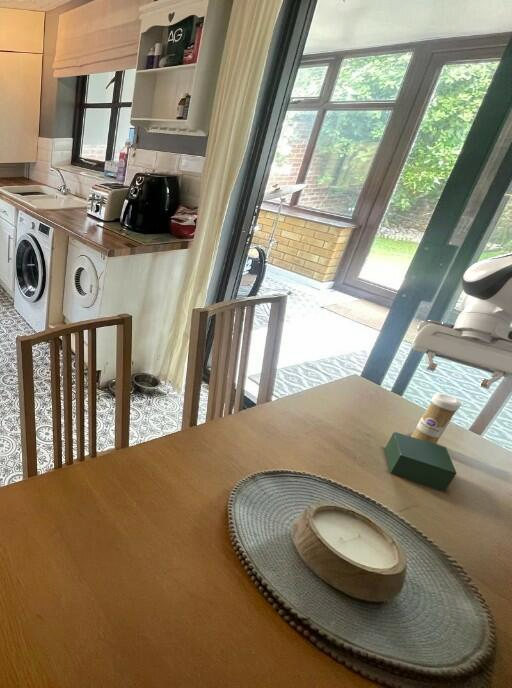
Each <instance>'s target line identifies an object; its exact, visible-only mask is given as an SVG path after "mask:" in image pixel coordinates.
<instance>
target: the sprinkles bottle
mask: <svg viewBox="0 0 512 688" xmlns="http://www.w3.org/2000/svg"><path fill="white" fill-rule="evenodd" d="M461 406H462V402H461V401H460V400H459V399H458V398H457V397H454V396H452V395H449V394H446V393H443V392H441V393H440V392H437V393H435V394H433V396H432V398H431V400H430V404H429V405H428V407H427V408H426V410H425V412H424V414H423V416H422V417H421V418H420V420H419V422H418V423H417V425H416V428H415V430H414V431H413V433H412V434H411V435H410V437H413V438H417V439H420V440H423V441H427V442H430V443H433V444H436V445H437V443H438V441H439V440H440V438H441V437H442V435H443V434H444V432H445V431H446V429H447V427H448V425H449V424H450V422H451V420H452V418H453V416H454V415H455V413H456V412H457V411H458V410H459V409H460V407H461Z"/></svg>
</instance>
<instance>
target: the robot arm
mask: <svg viewBox="0 0 512 688" xmlns="http://www.w3.org/2000/svg"><path fill="white" fill-rule="evenodd" d="M460 281H461V287H462V291H463V292H464V293H465V294H466V295H467V297H466V299H465V301H464V308H463V310H462V311H461V312H460V313H459V314H458V315H457V318H456V319H455V323H454V324H451V323H447V322H441V321H437V320H436V319H426V320H422V321H420V322H419V323H418V326H417V327H416V328H417V333H416V335H415V336H414V338H413V340H412V341H411V344H410V348H411V349H412V350H413V351H415V352H419V353H423V354H426V355H425V360H426V363H427V366H426V368H425V370H426V371H430V372H432V373H433V372H435V371H436V368H437V367H438V363H435V362H434V360H433V359H435V357H436V358H439V359H443V360H446V361H449V362H453V363H456V364H459V365H463V366H466V367H469V368H473V369H476V370H480V371H483V372H486V373H489V374H491V376H490V378H489V379H488V378H482V379H481V380H480V383H479V384H478V387H480V388H483V389H485V390H488V389H490V388H491V385H492V384H493V383H495V382H497V381H500V380H501V379H502V378H506V379H510V380H512V327H511V324H512V252H510V253H506V254H502V255H497V256H493V257H489V258H486V259H483V260H480V261H477V262H474V263H473V264H472V265H470V266H468V267H467V268H466V269H465V270H464V272H463V273H462V275H461V280H460Z"/></svg>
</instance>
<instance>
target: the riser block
mask: <svg viewBox="0 0 512 688" xmlns="http://www.w3.org/2000/svg"><path fill="white" fill-rule="evenodd" d="M384 451H385V455H386V458H387V463H388V467H389V472H390V473H391V474H393V475H395V476H398V477H400V478H404V479H408V480H410V481H413V482H415V483H419V484H422V485H425V486H427V487H430V488H432V489H433V488H434V489H436V490H438V491H441V492H446V490H447V489H448V488H449V486H450V484H451V483H452V482H453V480H454V478H455V477H456V476H457V470H456V468H455V466H454V463H453V461H452V459H451V456H450V454H449V452H448V449H447V447H446V446H443V445H440V444H437V443H436V444H433V443H430V442H427V441H423V440H420V439H417V438H413V437H411V435H406V434H403V433H400V432H397V431H393V433H392V434H391V437H390V439H389V440H388V442H387V444H386V445H385V448H384Z"/></svg>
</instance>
